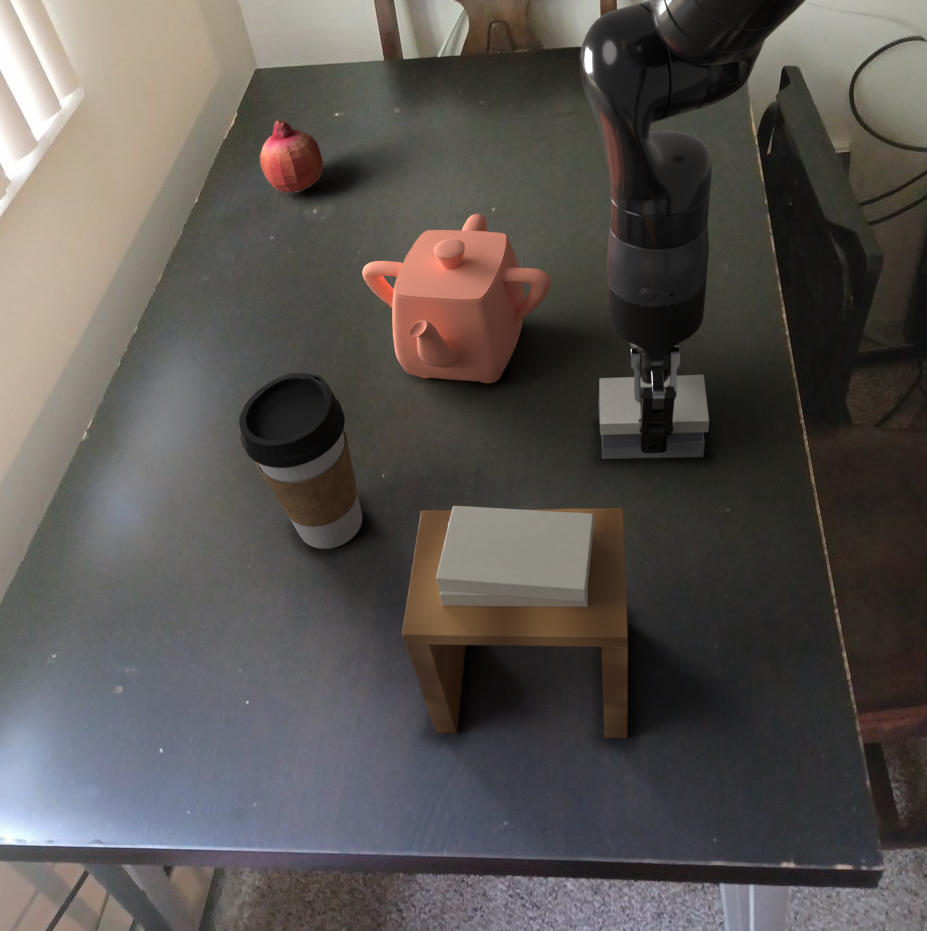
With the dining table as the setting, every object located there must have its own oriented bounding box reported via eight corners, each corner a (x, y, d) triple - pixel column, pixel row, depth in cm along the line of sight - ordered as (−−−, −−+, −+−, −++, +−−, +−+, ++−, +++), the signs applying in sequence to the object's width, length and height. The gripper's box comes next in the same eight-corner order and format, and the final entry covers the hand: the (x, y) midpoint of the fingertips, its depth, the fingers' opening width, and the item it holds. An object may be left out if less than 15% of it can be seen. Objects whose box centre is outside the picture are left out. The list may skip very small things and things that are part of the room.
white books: (594, 529, 60) (593, 503, 58) (594, 614, 56) (593, 589, 54) (451, 531, 62) (445, 505, 60) (441, 613, 57) (434, 589, 55)
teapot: (487, 286, 102) (472, 182, 92) (572, 357, 92) (566, 249, 83) (359, 352, 97) (329, 249, 88) (434, 433, 88) (411, 328, 78)
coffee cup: (395, 512, 82) (359, 393, 71) (330, 576, 78) (281, 461, 67) (331, 474, 86) (287, 356, 75) (266, 533, 82) (210, 418, 71)
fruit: (262, 207, 120) (238, 137, 112) (282, 174, 125) (261, 105, 117) (318, 207, 118) (298, 136, 110) (337, 174, 123) (319, 104, 115)
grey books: (699, 420, 84) (701, 389, 81) (703, 460, 81) (706, 429, 78) (599, 423, 86) (598, 393, 83) (599, 462, 82) (598, 432, 79)
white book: (702, 385, 82) (703, 374, 81) (708, 432, 78) (709, 421, 77) (599, 389, 83) (599, 377, 82) (600, 435, 79) (599, 423, 78)
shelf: (623, 618, 71) (623, 507, 61) (627, 738, 65) (627, 637, 54) (449, 617, 74) (420, 510, 63) (435, 733, 67) (401, 634, 57)
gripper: (715, 331, 64) (700, 484, 76) (699, 215, 73) (688, 368, 86) (608, 335, 65) (611, 485, 78) (605, 221, 75) (608, 371, 87)
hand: (651, 423), depth 82 cm, fingers closed on white book, 5 cm apart
